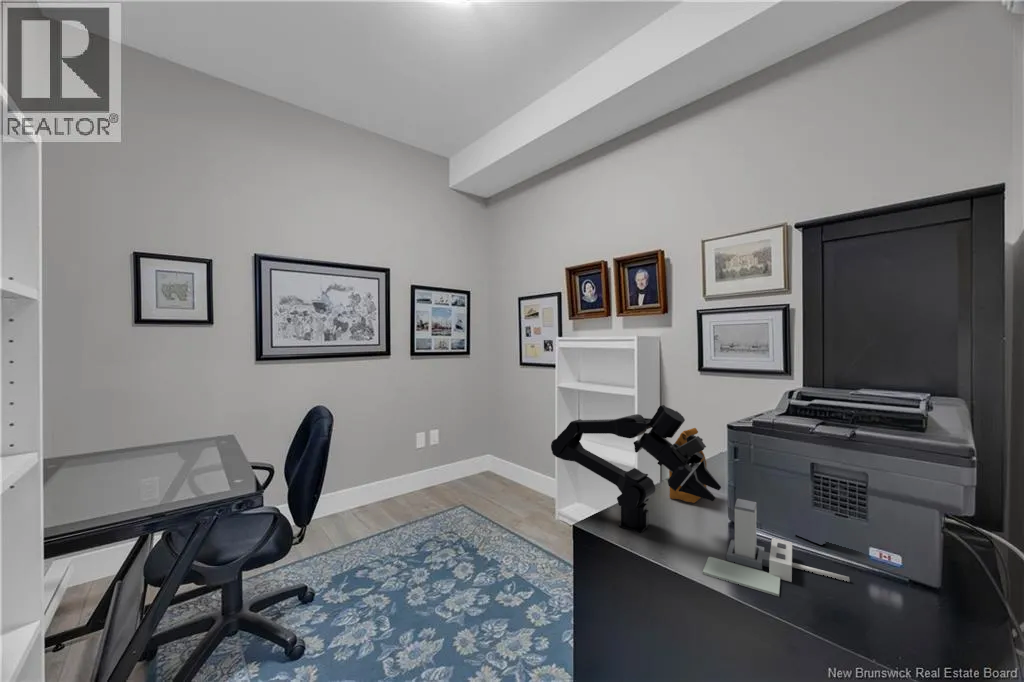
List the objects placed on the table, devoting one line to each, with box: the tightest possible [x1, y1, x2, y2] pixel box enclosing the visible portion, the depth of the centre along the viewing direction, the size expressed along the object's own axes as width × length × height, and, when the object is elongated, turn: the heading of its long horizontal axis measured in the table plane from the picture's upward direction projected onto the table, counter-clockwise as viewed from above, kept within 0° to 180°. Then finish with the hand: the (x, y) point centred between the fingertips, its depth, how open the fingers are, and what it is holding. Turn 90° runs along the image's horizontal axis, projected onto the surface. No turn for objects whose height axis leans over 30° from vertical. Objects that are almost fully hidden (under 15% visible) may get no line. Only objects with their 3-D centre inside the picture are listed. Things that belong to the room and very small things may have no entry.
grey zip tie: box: [726, 537, 850, 583], centre depth 92 cm, size 22×12×4 cm, turn 55°
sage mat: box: [702, 556, 781, 598], centre depth 89 cm, size 14×8×1 cm, turn 55°
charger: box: [734, 498, 758, 560], centre depth 97 cm, size 4×6×12 cm
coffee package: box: [668, 427, 707, 504], centre depth 133 cm, size 10×12×22 cm
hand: (717, 494), depth 100 cm, fingers open, 9 cm apart
